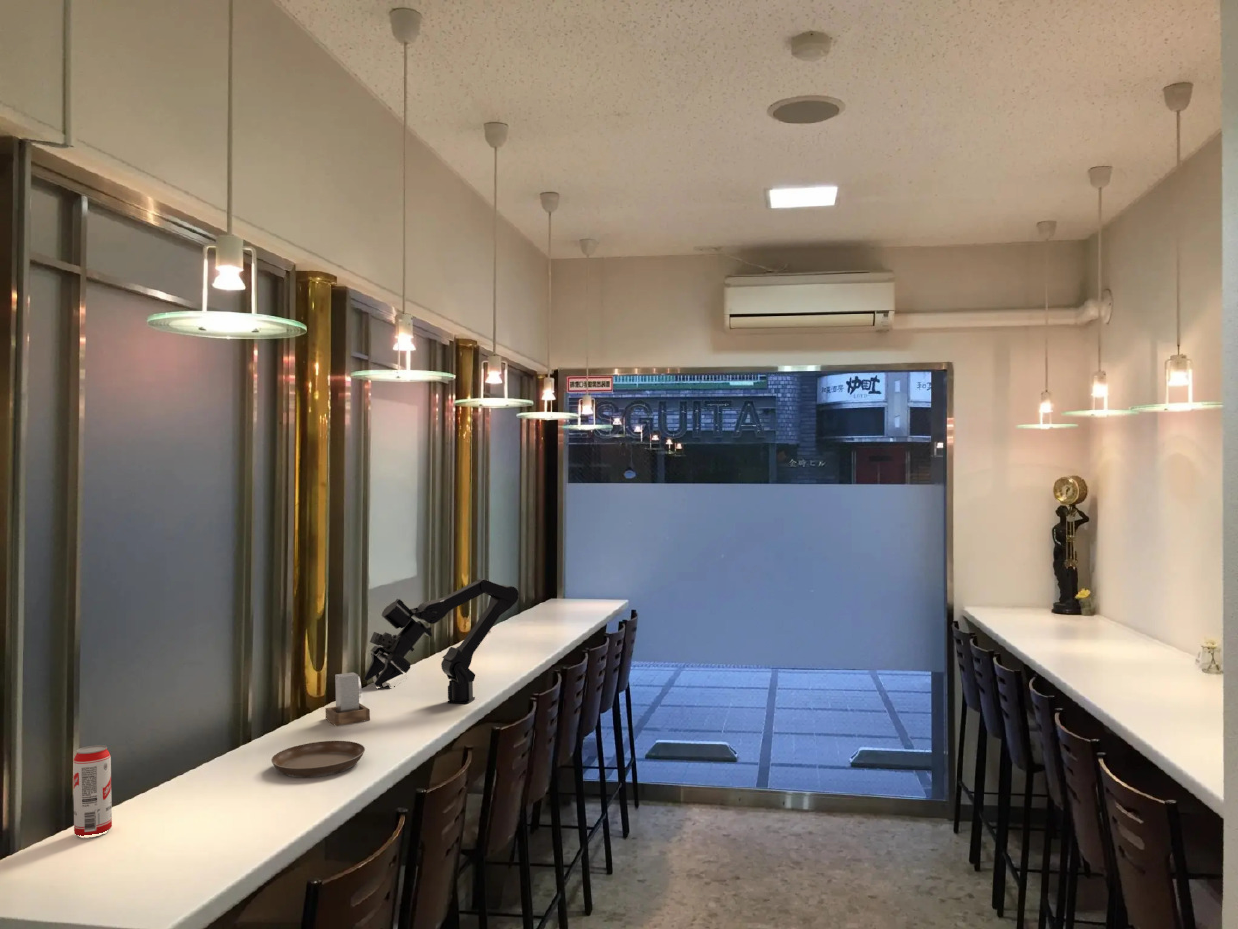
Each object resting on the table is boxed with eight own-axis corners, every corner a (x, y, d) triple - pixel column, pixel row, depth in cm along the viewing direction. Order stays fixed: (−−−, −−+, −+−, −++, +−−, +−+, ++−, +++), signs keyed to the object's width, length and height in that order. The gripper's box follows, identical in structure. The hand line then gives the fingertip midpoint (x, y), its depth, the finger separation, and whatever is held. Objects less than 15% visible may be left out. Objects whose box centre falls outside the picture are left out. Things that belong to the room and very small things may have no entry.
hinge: (391, 689, 297) (380, 659, 298) (377, 694, 298) (366, 664, 298) (408, 678, 314) (397, 650, 314) (395, 683, 314) (385, 655, 315)
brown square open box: (359, 713, 266) (359, 703, 266) (369, 720, 258) (369, 709, 258) (325, 718, 261) (325, 708, 261) (335, 725, 253) (335, 714, 253)
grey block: (354, 716, 263) (353, 672, 263) (359, 720, 258) (358, 675, 259) (336, 719, 260) (335, 674, 260) (341, 722, 256) (340, 677, 256)
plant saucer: (328, 784, 203) (327, 769, 203) (251, 777, 210) (251, 762, 210) (382, 757, 222) (382, 743, 222) (311, 751, 229) (310, 738, 229)
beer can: (71, 842, 172) (70, 755, 173) (76, 831, 178) (75, 747, 178) (110, 836, 175) (108, 750, 175) (113, 825, 180) (112, 742, 181)
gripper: (376, 617, 274) (339, 660, 268) (398, 625, 258) (359, 670, 252) (403, 641, 278) (367, 683, 272) (426, 650, 262) (388, 695, 256)
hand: (370, 682), depth 263 cm, fingers open, 9 cm apart
